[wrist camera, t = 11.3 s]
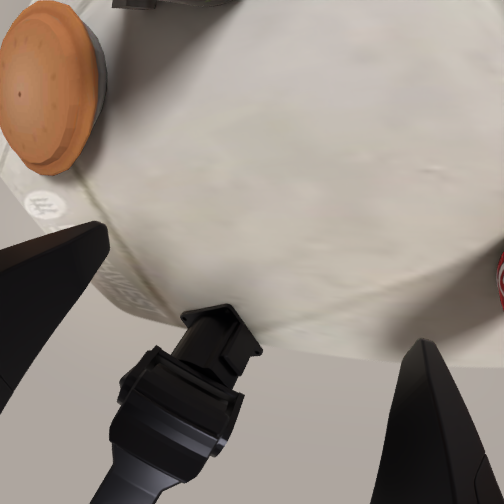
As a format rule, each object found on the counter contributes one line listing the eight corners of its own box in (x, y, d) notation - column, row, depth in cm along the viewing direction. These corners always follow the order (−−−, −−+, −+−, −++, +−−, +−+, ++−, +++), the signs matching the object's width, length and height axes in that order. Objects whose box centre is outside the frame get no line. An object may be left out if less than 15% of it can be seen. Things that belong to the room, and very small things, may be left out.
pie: (69, -30, 15) (23, -30, 11) (163, 75, 19) (114, 85, 15) (9, 89, 23) (-27, 103, 20) (76, 190, 27) (39, 213, 24)
